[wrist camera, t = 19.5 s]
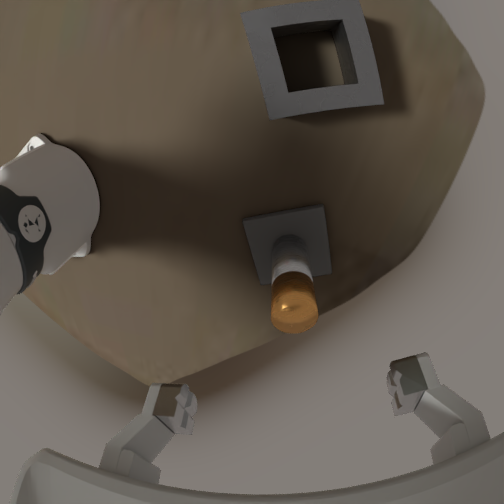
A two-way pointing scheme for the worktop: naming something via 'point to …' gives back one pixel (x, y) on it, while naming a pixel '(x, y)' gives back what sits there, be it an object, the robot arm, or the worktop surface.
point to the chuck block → (347, 45)
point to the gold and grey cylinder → (292, 286)
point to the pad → (284, 223)
